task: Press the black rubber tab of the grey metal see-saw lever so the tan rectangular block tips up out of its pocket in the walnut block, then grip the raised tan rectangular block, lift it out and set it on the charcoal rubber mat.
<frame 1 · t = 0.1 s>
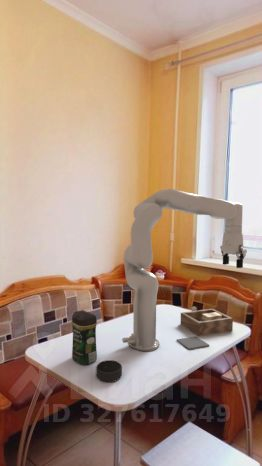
hand: (232, 266, 153), 31 cm above the table, tool pointing down, fingers open, 9 cm apart
black round bowl: (109, 377, 113), on the table
rubber mat: (192, 343, 141), on the table
coffee jar: (84, 360, 125), on the table
pacifier: (192, 318, 173), on the table
tan rectangular block: (211, 320, 161), point 3 cm above the table, touching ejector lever
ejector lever: (205, 321, 160), point 3 cm above the table, hinge at 0.0°, touching tan rectangular block
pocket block: (203, 327, 159), on the table
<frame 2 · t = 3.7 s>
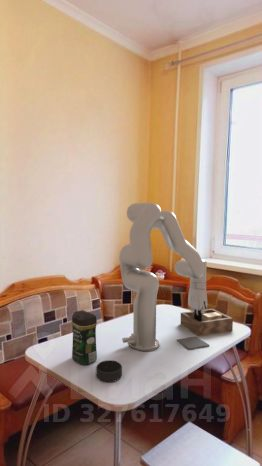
hand: (197, 322, 158), 3 cm above the table, tool pointing down, fingers closed
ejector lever: (205, 321, 160), point 3 cm above the table, hinge at -0.3°, touching tan rectangular block, gripper
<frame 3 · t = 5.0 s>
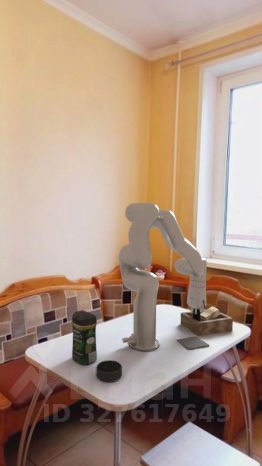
hand: (196, 321, 157), 4 cm above the table, tool pointing down, fingers closed
tan rectangular block: (210, 317, 160), point 5 cm above the table, tilted 23°, touching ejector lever
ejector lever: (205, 320, 159), point 3 cm above the table, hinge at -23.3°, touching tan rectangular block
everything else where it was.
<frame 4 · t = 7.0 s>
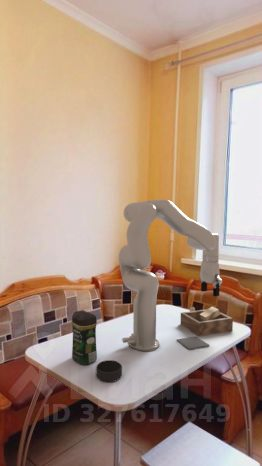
hand: (209, 293, 159), 17 cm above the table, tool pointing down, fingers open, 9 cm apart
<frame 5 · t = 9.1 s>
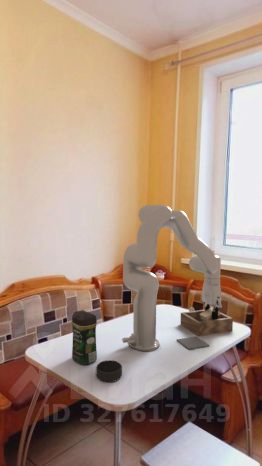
hand: (211, 316, 161), 5 cm above the table, tool pointing down, fingers closed on tan rectangular block, 4 cm apart
tan rectangular block: (210, 317, 160), point 5 cm above the table, tilted 23°, touching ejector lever, gripper
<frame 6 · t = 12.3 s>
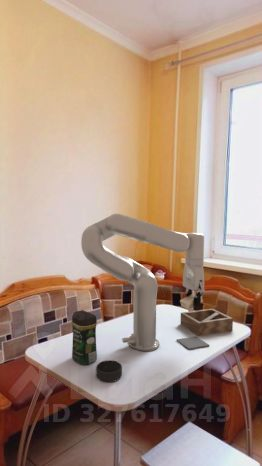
hand: (193, 304, 139), 17 cm above the table, tool pointing down, fingers closed on tan rectangular block, 4 cm apart
tan rectangular block: (192, 304, 139), point 17 cm above the table, tilted 21°, touching gripper
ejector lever: (205, 320, 159), point 3 cm above the table, hinge at -23.0°
when the fingers open (3 cm above the table, at t = 15.4 s): tan rectangular block drops 3 cm, resting on rubber mat.
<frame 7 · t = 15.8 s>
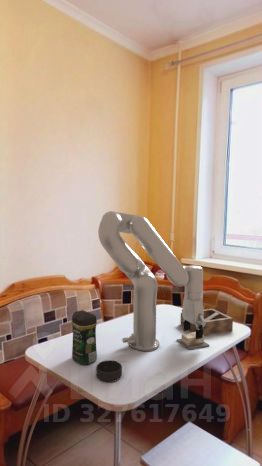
hand: (192, 334, 140), 4 cm above the table, tool pointing down, fingers open, 9 cm apart
tan rectangular block: (192, 341, 141), point 1 cm above the table, touching rubber mat
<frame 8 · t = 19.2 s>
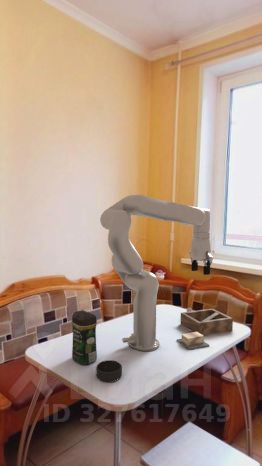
hand: (200, 272, 151), 28 cm above the table, tool pointing down, fingers open, 9 cm apart
at the end: tan rectangular block inside the target area on the rubber mat (0.2 cm from its centre), point 0.6 cm above the rubber mat's base; tan rectangular block tilted 0°; tan rectangular block touching rubber mat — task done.
